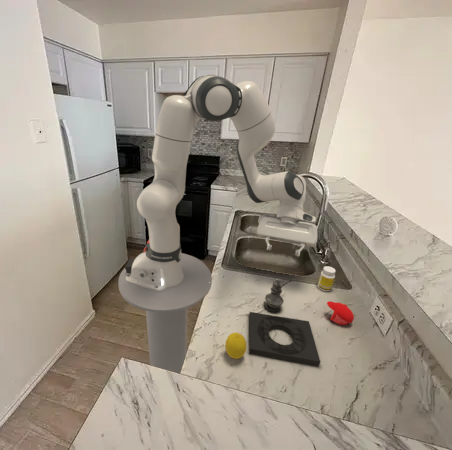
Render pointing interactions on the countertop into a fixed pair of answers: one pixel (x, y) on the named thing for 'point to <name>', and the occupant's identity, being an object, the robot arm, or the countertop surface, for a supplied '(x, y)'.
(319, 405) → the countertop surface
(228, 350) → the lemon
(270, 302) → the dark grey statuette
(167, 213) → the robot arm
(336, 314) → the cap
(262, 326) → the pad
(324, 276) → the supplement bottle
